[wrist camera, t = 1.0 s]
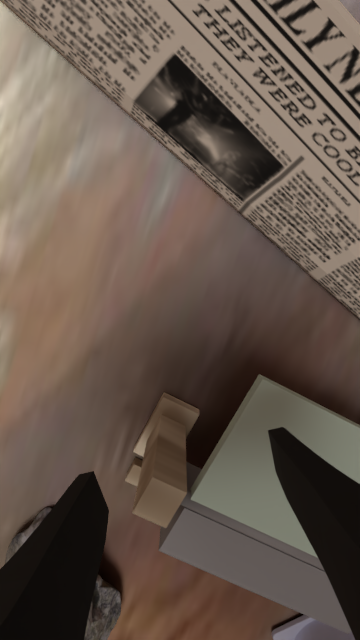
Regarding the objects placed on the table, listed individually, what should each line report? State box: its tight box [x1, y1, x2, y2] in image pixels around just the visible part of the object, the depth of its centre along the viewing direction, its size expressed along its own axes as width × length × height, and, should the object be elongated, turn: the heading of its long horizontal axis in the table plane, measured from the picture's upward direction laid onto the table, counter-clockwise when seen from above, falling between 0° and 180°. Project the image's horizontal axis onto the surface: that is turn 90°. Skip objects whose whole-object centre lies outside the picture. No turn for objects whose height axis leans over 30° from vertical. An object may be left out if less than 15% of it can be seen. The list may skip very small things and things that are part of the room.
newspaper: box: [0, 0, 360, 320], centre depth 17 cm, size 35×12×4 cm, turn 51°
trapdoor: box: [159, 374, 360, 634], centre depth 18 cm, size 12×14×4 cm
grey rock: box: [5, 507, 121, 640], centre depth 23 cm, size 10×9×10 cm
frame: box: [125, 392, 200, 528], centre depth 19 cm, size 8×19×7 cm, turn 63°
